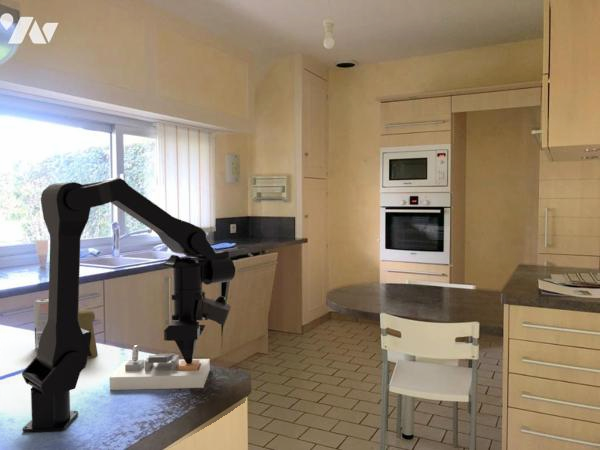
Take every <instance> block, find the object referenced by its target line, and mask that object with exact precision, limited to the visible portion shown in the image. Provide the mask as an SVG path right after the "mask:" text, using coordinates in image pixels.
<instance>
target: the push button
mask: <svg viewBox="0 0 600 450" xmlns="http://www.w3.org/2000/svg"><path fill="white" fill-rule="evenodd" d="M199 368H200V365H199V360H192V363H190V364H187V363H186V362H185V360H182V361H181V363H180V365H179V371H196V370H199Z"/></svg>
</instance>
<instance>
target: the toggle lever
mask: <svg viewBox="0 0 600 450" xmlns="http://www.w3.org/2000/svg"><path fill="white" fill-rule="evenodd" d="M139 351H140V347H139V345H137V344H136V345H134V346H133V347H132V351H131V360H133V361H137V360H139Z"/></svg>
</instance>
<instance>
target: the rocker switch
mask: <svg viewBox="0 0 600 450" xmlns="http://www.w3.org/2000/svg"><path fill="white" fill-rule="evenodd" d="M174 355H176V354H175V353H155V354H154V356H151V357H149V356H148V357H149V358H148V357H147V358H148V363H167V362H169V361H171V360H172V359H173V357H174Z"/></svg>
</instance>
